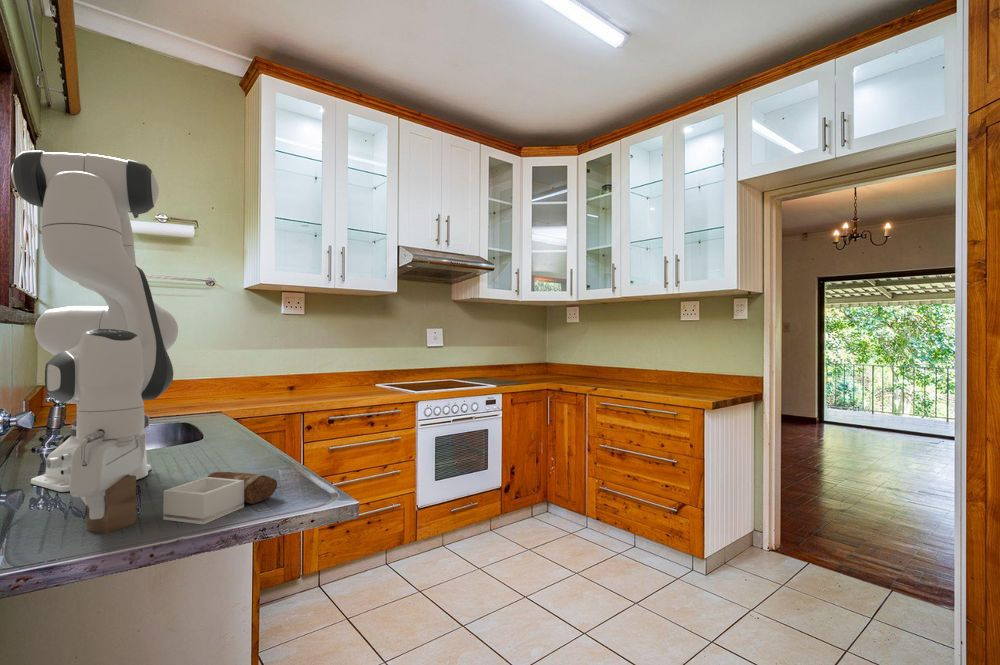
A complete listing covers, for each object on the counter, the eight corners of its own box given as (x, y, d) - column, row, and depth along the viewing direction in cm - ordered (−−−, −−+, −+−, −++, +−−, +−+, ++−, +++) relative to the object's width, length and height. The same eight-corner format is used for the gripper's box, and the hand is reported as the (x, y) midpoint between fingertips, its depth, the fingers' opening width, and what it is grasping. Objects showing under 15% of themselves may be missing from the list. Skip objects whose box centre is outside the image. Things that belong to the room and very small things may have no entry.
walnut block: (86, 530, 79) (87, 481, 79) (115, 520, 84) (116, 473, 84) (107, 533, 78) (107, 483, 78) (135, 522, 82) (136, 475, 83)
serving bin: (163, 519, 84) (163, 490, 84) (206, 503, 92) (206, 476, 92) (203, 524, 81) (203, 494, 81) (244, 507, 90) (244, 480, 90)
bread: (248, 510, 89) (248, 479, 89) (198, 492, 100) (198, 465, 100) (279, 500, 94) (279, 471, 94) (229, 484, 105) (229, 459, 105)
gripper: (108, 435, 72) (107, 527, 72) (152, 415, 91) (151, 488, 91) (56, 438, 70) (54, 533, 70) (112, 417, 89) (111, 492, 89)
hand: (110, 508), depth 81 cm, fingers open, 8 cm apart
